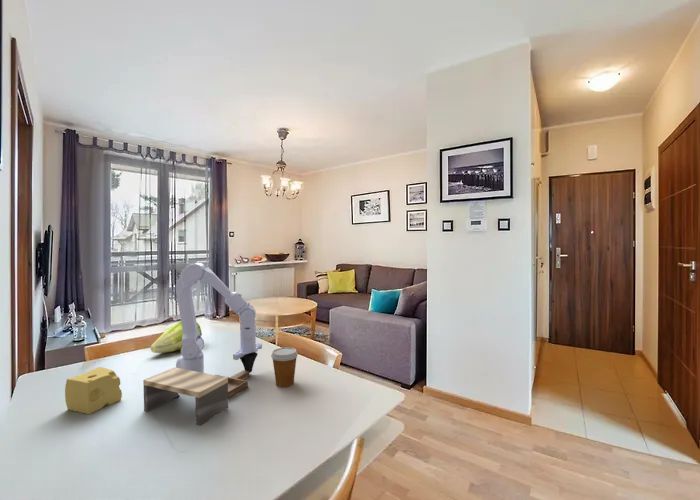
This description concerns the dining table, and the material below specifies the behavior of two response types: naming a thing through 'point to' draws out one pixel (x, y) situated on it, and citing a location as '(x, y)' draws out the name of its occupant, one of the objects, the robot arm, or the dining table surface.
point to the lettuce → (170, 339)
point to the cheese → (92, 390)
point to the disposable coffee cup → (284, 365)
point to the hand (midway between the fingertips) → (248, 372)
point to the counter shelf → (188, 391)
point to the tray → (237, 383)
